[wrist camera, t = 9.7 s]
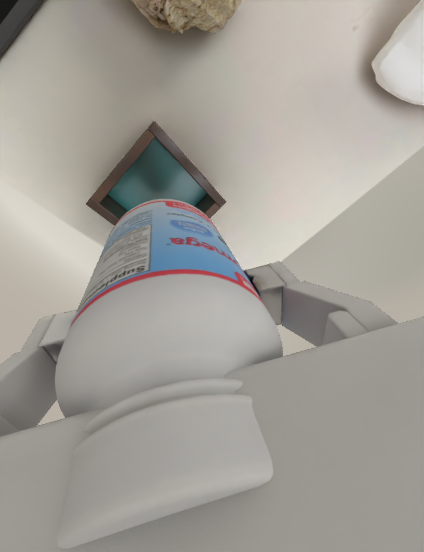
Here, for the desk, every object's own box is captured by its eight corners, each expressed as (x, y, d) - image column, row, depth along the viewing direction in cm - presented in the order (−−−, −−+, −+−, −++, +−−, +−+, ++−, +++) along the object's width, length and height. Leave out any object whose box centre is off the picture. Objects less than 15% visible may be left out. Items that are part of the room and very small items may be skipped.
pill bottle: (237, 254, 14) (396, 488, 5) (161, 310, 15) (177, 592, 6) (171, 168, 11) (277, 380, 2) (80, 246, 12) (-159, 647, 3)
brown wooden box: (153, 122, 22) (154, 120, 19) (215, 191, 27) (226, 202, 23) (96, 191, 25) (85, 204, 21) (162, 245, 29) (164, 263, 25)
